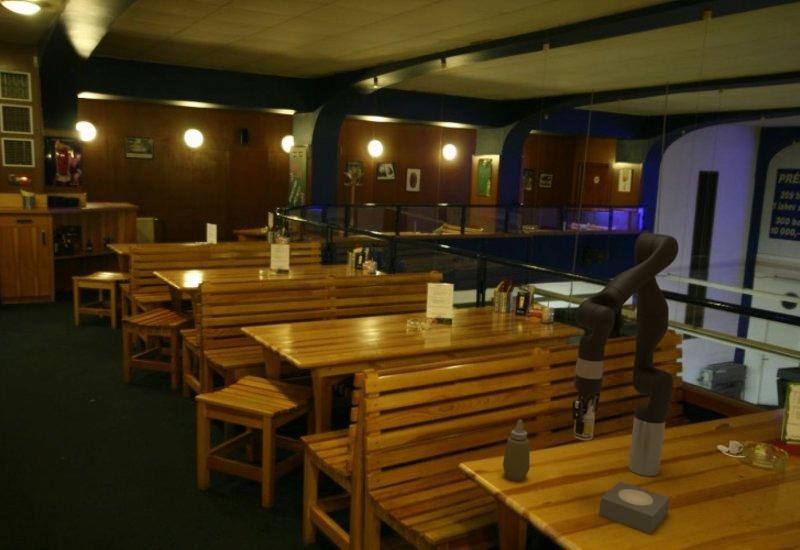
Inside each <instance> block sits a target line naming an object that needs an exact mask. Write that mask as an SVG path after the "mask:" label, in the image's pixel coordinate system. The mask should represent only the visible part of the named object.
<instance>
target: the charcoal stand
mask: <svg viewBox="0 0 800 550" xmlns="http://www.w3.org/2000/svg"><path fill="white" fill-rule="evenodd" d="M670 500H671V497H669V496H665V495H663V494H661V493H657V492H654V491H651V490H647V489H644V488H641V487H639V486H635V485H633V484H630V483H626V482H624V481H621V480H620V481H618V482H617V483H616V484H614V486H612V488H611V489H609V490H608V491H607V492H606V493H604V495H603V496H602V497H600V503H599V512H598V515H599V516H601V517H603V518H606V519H608V520H611V521H614V522H616V523H619V524H621V525H625V526H627V527H629V528H633V529H635V530H638V531H641V532H643V533H646V534H649V535H652V534H653V532H654V531H655V530H656V529H657V528H658V526H659V525H660V524H661V523H662V522H663V521H664V519H666V517H667V516H668V514H669V509H670V508H669V507H670Z"/></svg>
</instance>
